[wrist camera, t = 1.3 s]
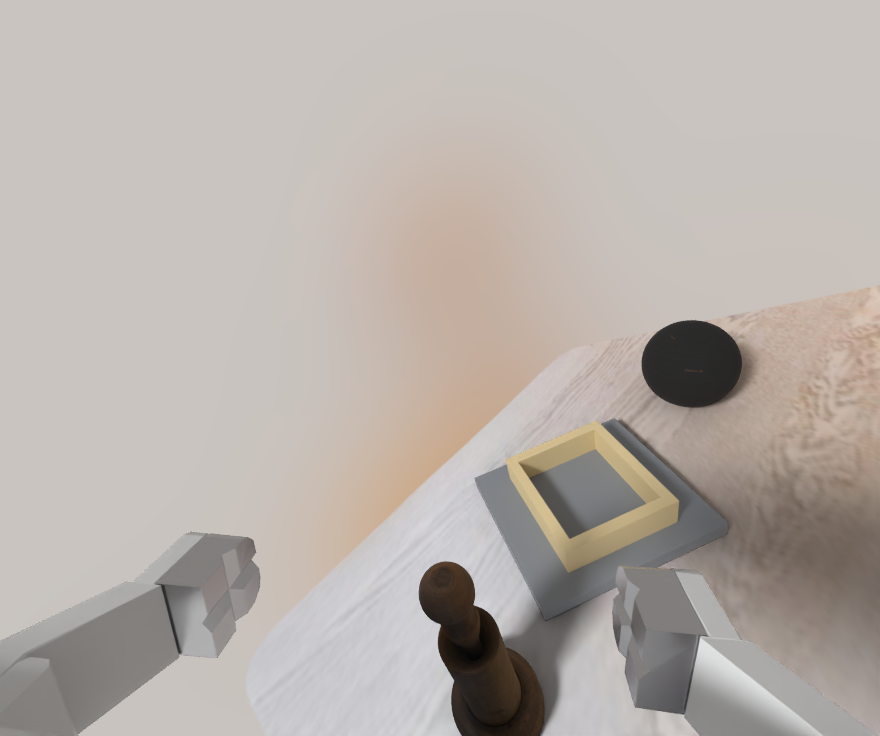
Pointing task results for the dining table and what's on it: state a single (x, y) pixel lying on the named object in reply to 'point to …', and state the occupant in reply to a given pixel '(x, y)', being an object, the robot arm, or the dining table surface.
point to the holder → (592, 513)
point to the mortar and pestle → (479, 660)
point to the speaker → (691, 363)
